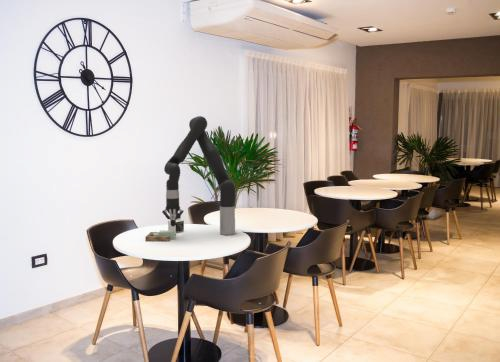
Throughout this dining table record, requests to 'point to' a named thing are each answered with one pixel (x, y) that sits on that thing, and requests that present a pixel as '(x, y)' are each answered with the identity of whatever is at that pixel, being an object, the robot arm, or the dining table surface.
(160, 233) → the bottle
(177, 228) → the medicine bottle
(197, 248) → the dining table surface
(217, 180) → the robot arm
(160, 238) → the tray
